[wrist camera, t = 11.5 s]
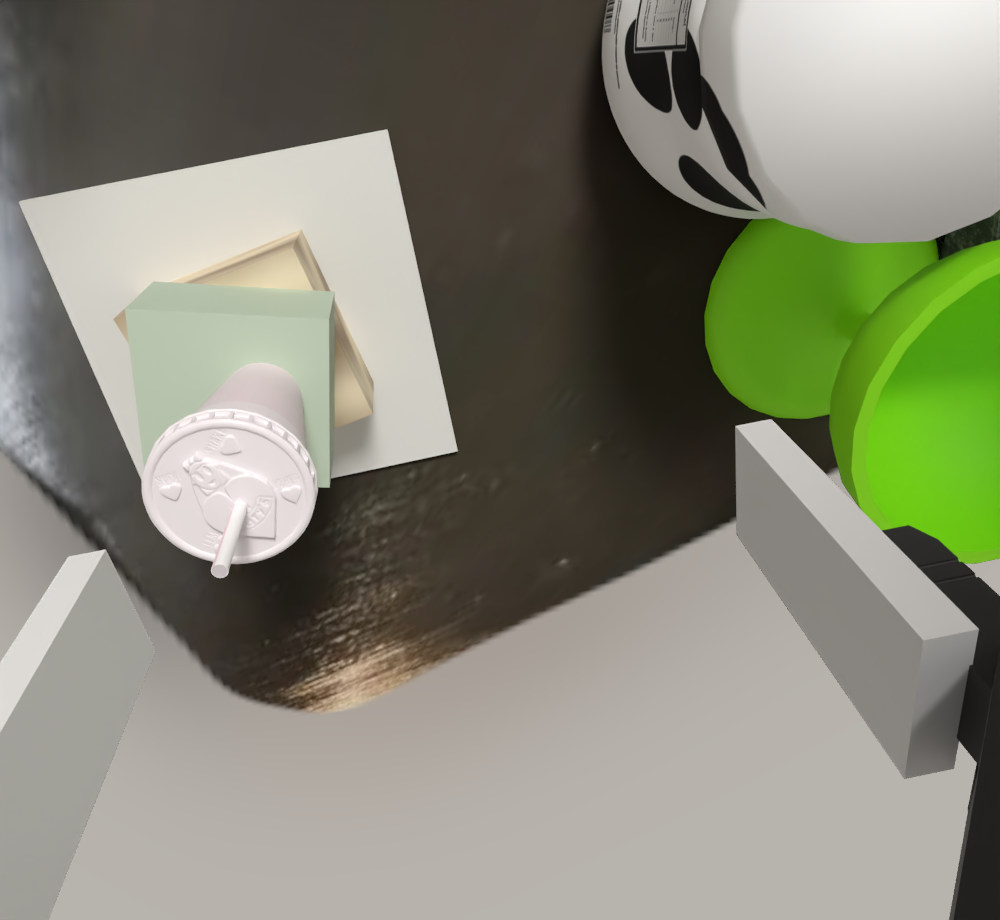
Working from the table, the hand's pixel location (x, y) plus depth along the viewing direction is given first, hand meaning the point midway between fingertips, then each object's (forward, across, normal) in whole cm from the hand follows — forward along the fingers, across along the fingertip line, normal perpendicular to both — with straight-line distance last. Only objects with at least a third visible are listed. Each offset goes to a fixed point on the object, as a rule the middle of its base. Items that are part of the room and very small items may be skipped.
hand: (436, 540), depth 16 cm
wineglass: (+34, +25, -10) cm, 43 cm away
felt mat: (+33, -10, -5) cm, 35 cm away
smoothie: (+22, -9, -5) cm, 25 cm away
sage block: (+27, -10, -5) cm, 30 cm away
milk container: (+34, +20, +6) cm, 40 cm away
